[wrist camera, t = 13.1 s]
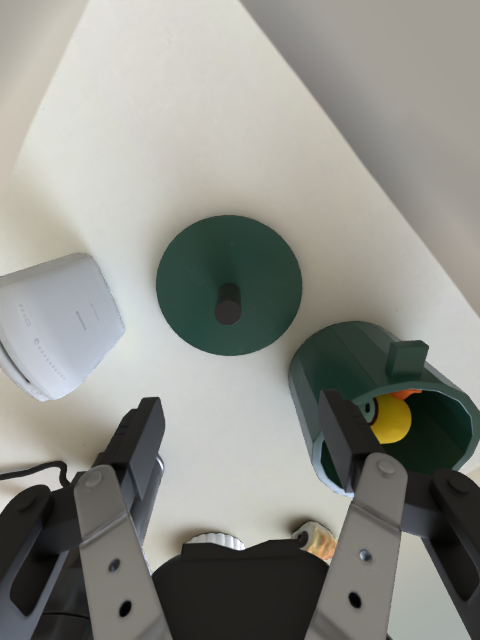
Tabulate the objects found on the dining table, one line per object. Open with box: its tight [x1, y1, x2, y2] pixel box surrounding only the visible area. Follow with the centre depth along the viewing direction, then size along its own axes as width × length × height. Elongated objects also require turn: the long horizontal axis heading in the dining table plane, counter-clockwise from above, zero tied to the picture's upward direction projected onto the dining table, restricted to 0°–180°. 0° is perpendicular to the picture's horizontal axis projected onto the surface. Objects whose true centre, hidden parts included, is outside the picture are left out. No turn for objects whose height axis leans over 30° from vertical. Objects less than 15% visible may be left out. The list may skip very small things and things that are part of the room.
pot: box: [288, 321, 480, 498], centre depth 28 cm, size 15×20×12 cm
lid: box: [156, 215, 302, 356], centre depth 25 cm, size 16×16×7 cm
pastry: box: [291, 521, 337, 560], centre depth 46 cm, size 9×7×4 cm
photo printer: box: [0, 253, 124, 402], centre depth 23 cm, size 10×4×12 cm, turn 11°
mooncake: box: [187, 533, 245, 550], centre depth 48 cm, size 12×12×4 cm
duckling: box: [357, 389, 422, 444], centre depth 28 cm, size 11×5×10 cm, turn 157°
